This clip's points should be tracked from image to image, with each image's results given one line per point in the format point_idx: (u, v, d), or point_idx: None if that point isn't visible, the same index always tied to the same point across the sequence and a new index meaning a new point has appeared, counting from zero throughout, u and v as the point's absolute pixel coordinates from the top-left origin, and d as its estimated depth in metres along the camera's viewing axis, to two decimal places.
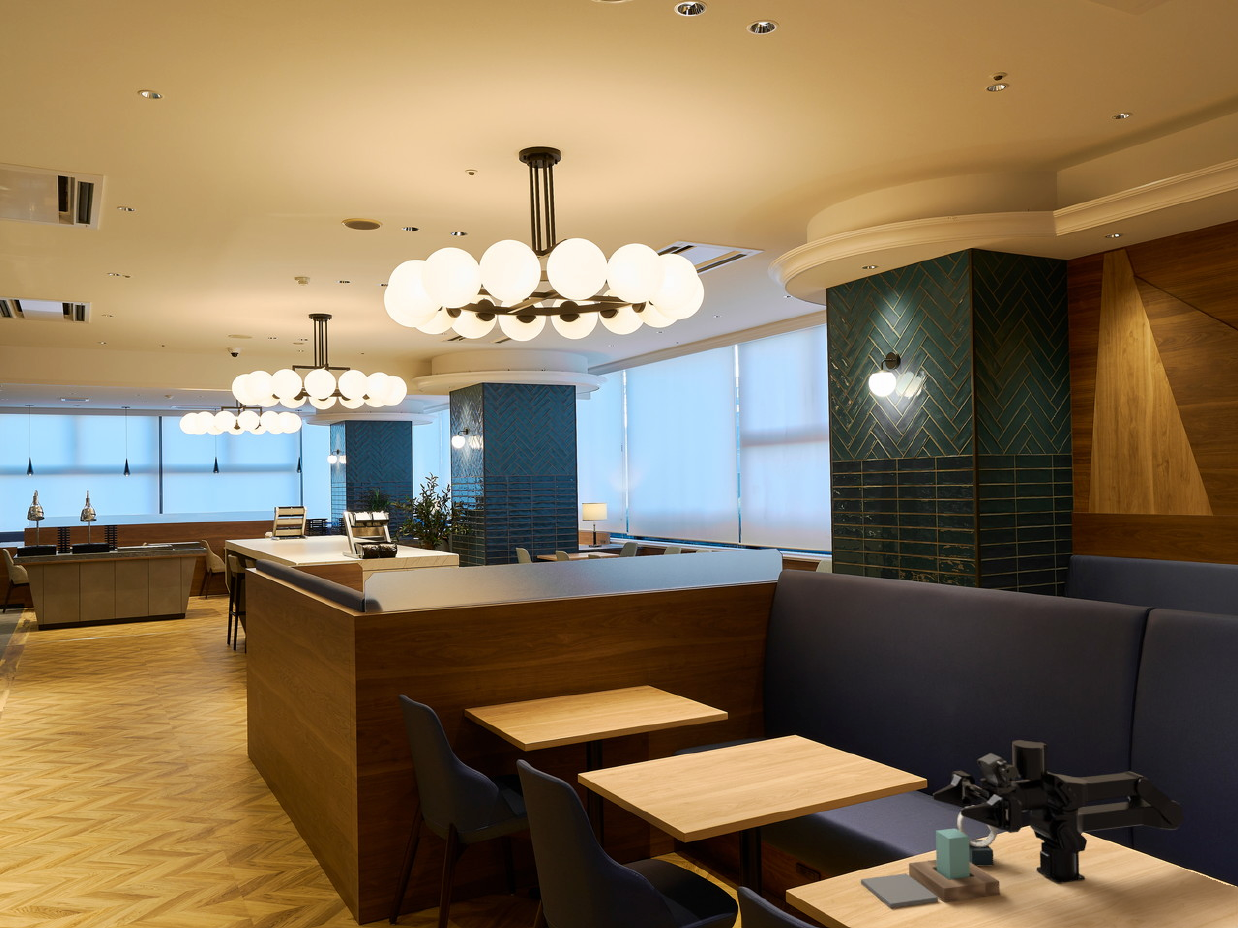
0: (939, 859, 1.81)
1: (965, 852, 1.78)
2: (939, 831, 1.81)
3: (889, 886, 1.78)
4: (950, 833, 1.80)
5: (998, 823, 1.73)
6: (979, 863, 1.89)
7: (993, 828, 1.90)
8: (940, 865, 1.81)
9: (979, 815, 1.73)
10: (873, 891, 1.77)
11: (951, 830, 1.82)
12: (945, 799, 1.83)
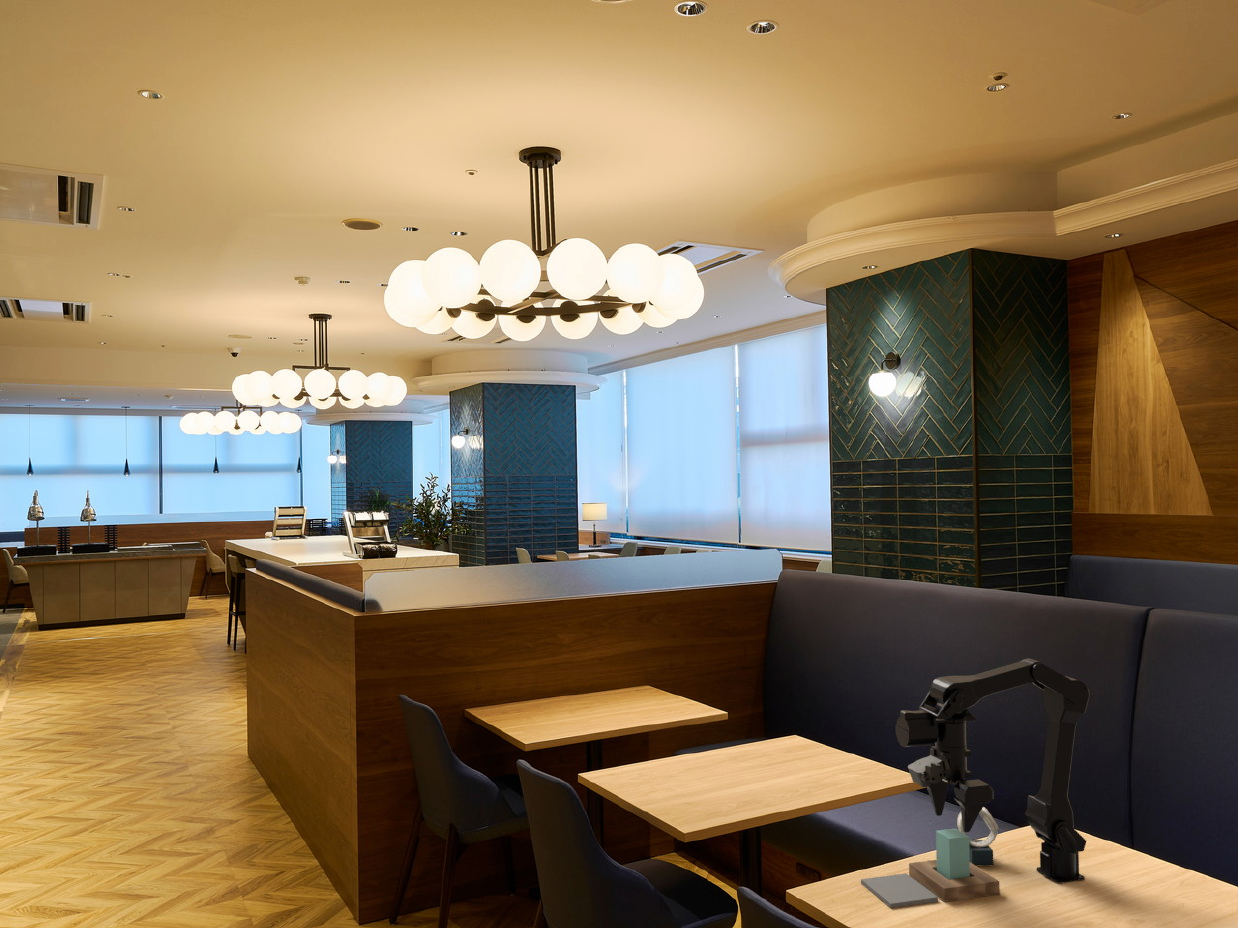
0: (939, 859, 1.81)
1: (965, 852, 1.78)
2: (939, 831, 1.82)
3: (889, 886, 1.78)
4: (950, 833, 1.80)
5: None
6: (979, 863, 1.89)
7: (993, 828, 1.90)
8: (940, 865, 1.81)
9: (972, 816, 1.75)
10: (873, 891, 1.77)
11: (951, 830, 1.82)
12: (941, 801, 1.85)
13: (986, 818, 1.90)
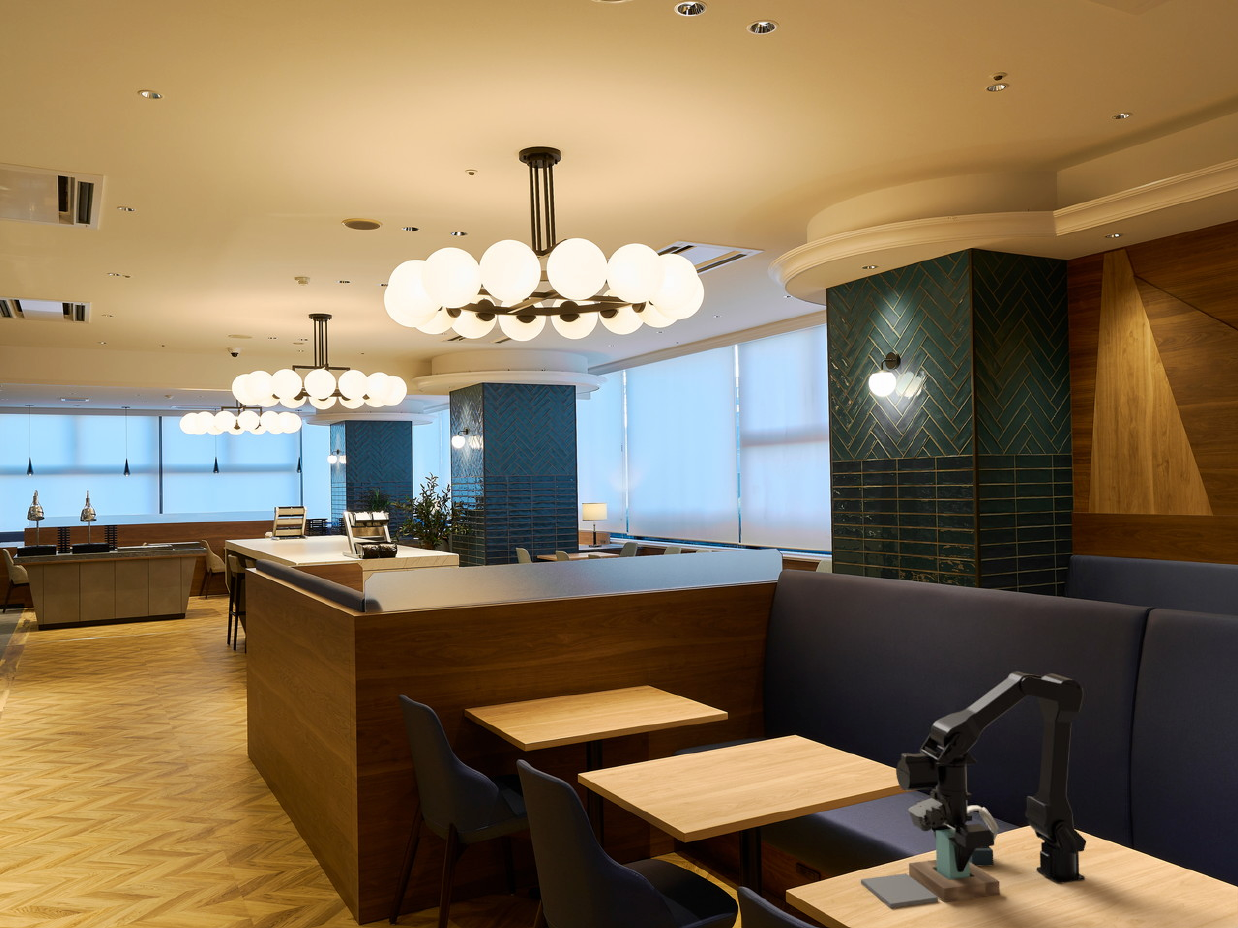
0: (939, 859, 1.81)
1: None
2: (939, 831, 1.82)
3: (889, 886, 1.78)
4: (950, 833, 1.80)
5: None
6: (979, 863, 1.89)
7: (993, 828, 1.90)
8: (940, 865, 1.81)
9: (965, 856, 1.77)
10: (873, 891, 1.77)
11: (951, 829, 1.82)
12: None
13: (986, 818, 1.90)
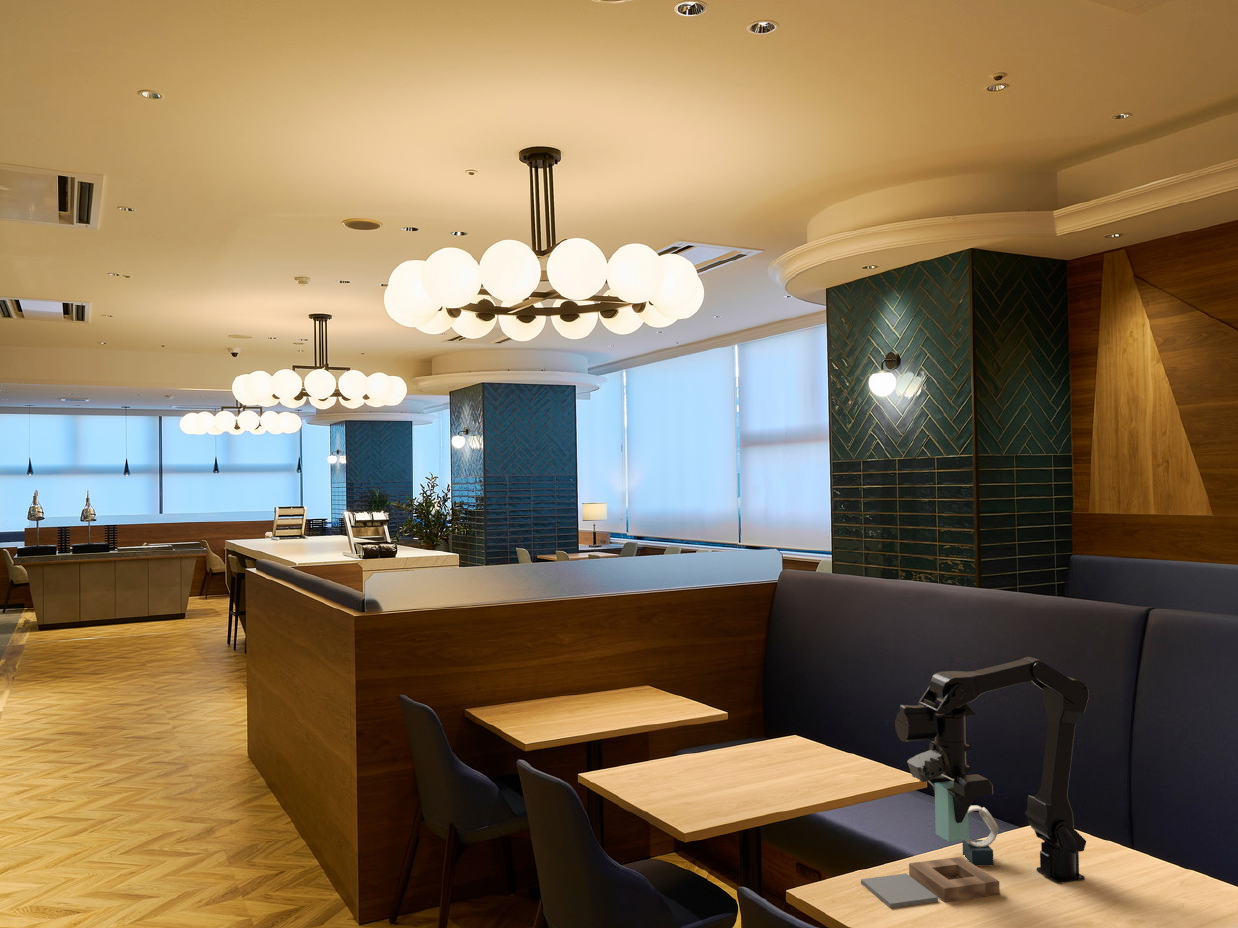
0: (938, 811, 1.81)
1: None
2: (938, 783, 1.82)
3: (889, 886, 1.78)
4: (949, 785, 1.80)
5: None
6: (979, 863, 1.89)
7: (993, 828, 1.90)
8: (938, 817, 1.81)
9: (964, 807, 1.77)
10: (873, 891, 1.77)
11: (950, 782, 1.82)
12: None
13: (986, 818, 1.90)
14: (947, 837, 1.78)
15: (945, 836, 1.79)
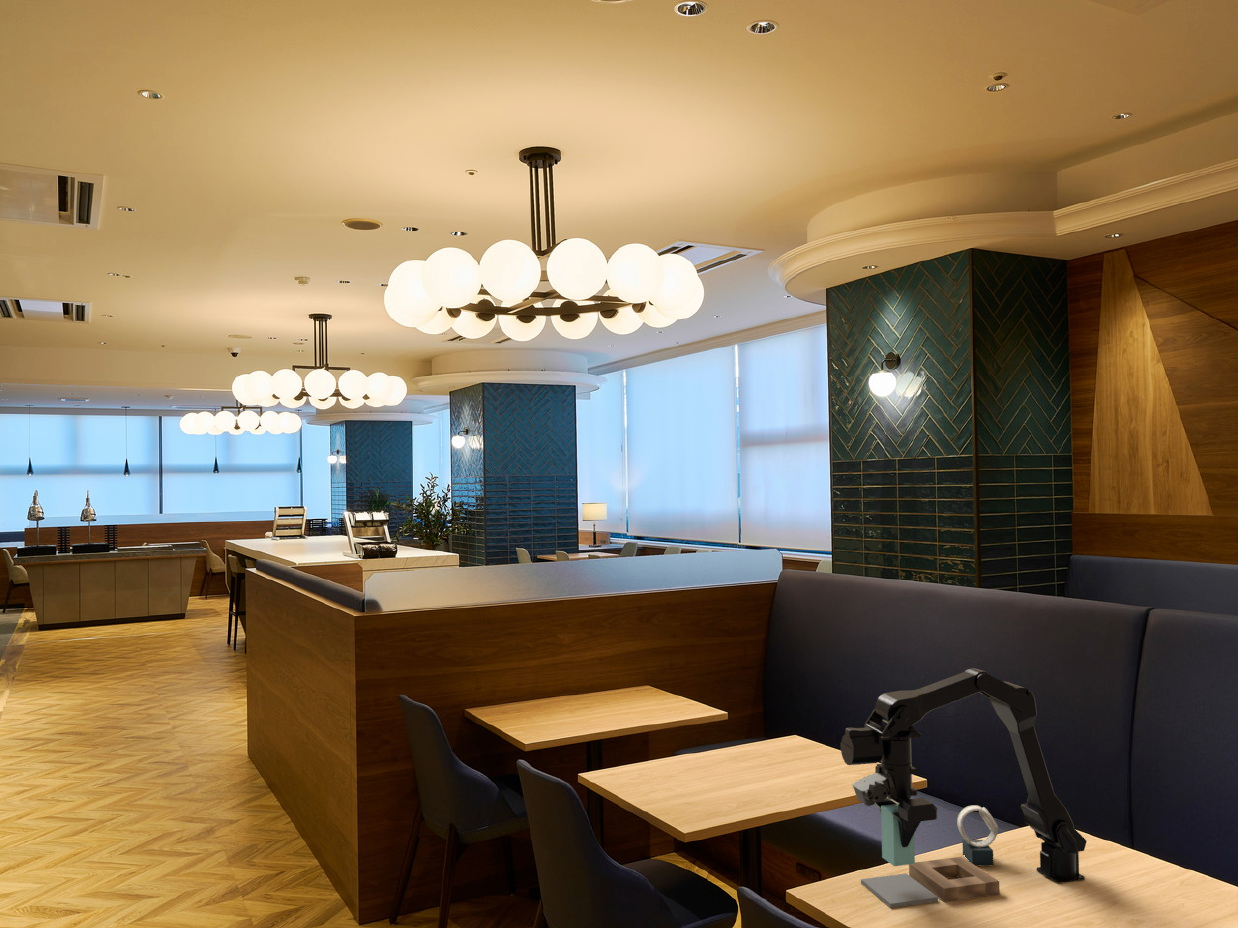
0: (884, 834, 1.78)
1: None
2: (884, 806, 1.79)
3: (889, 886, 1.78)
4: (895, 808, 1.77)
5: None
6: (979, 863, 1.89)
7: (993, 828, 1.90)
8: (884, 840, 1.78)
9: (909, 831, 1.74)
10: (873, 891, 1.77)
11: (897, 805, 1.79)
12: None
13: (986, 818, 1.90)
14: (893, 861, 1.75)
15: (891, 860, 1.76)
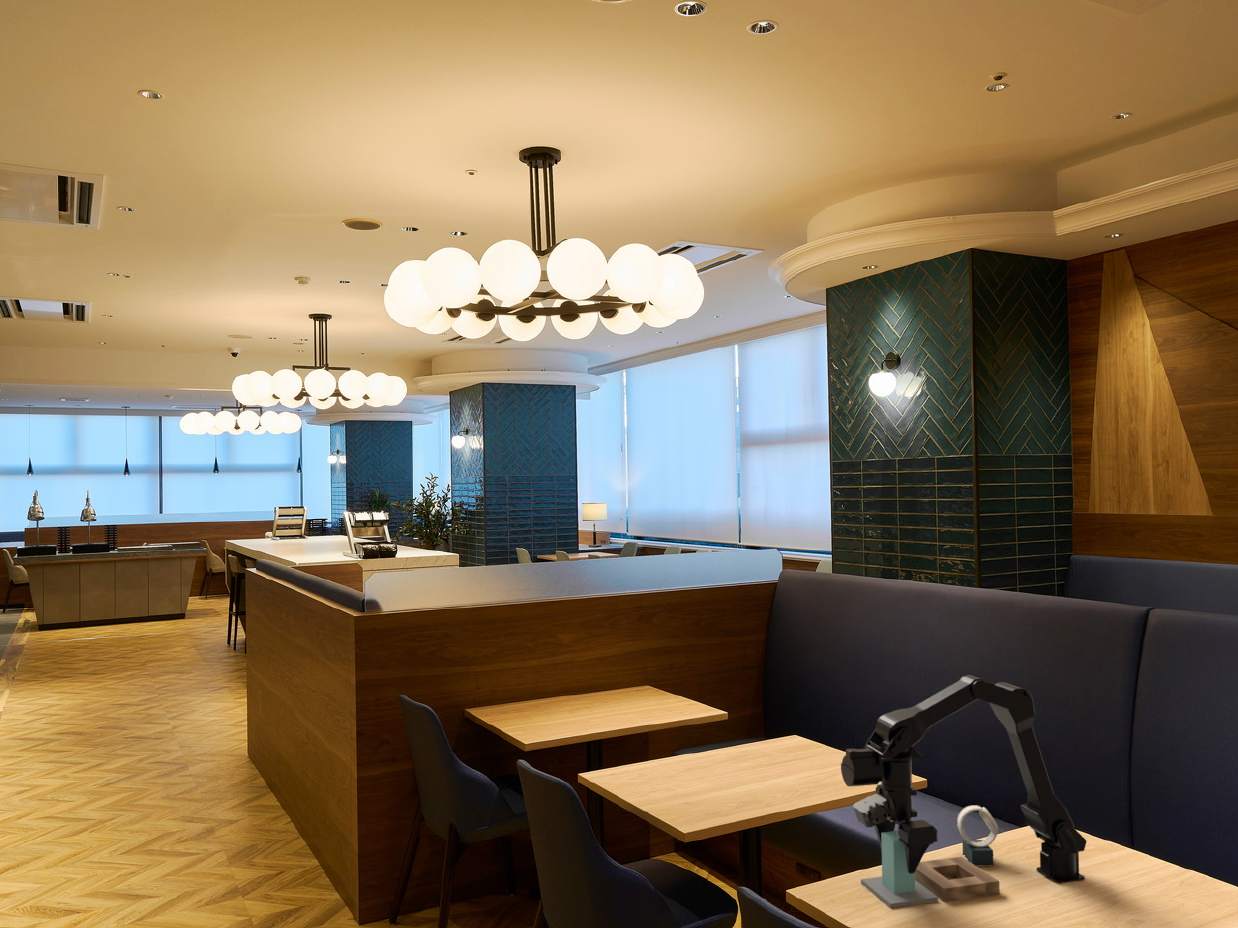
0: (884, 862, 1.78)
1: None
2: (884, 833, 1.79)
3: None
4: (895, 835, 1.77)
5: None
6: (979, 863, 1.89)
7: (993, 828, 1.90)
8: (885, 868, 1.78)
9: (916, 858, 1.72)
10: (873, 891, 1.77)
11: (897, 831, 1.79)
12: None
13: (986, 818, 1.90)
14: (893, 889, 1.75)
15: (891, 888, 1.76)
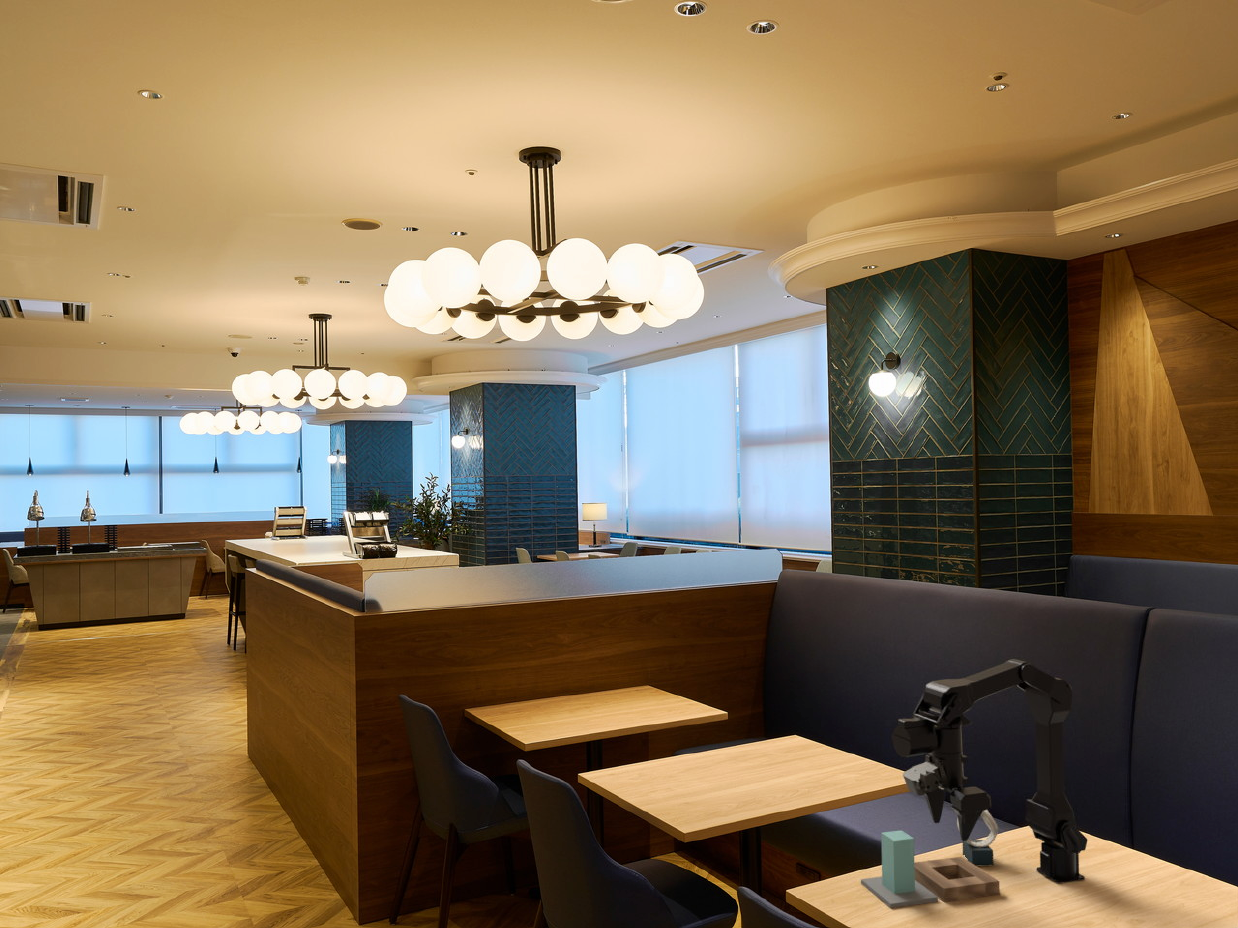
0: (884, 862, 1.78)
1: (910, 854, 1.76)
2: (884, 833, 1.79)
3: None
4: (895, 835, 1.77)
5: None
6: (979, 863, 1.89)
7: (993, 828, 1.90)
8: (885, 868, 1.78)
9: (969, 825, 1.70)
10: (873, 891, 1.77)
11: (897, 831, 1.79)
12: (939, 808, 1.80)
13: (986, 818, 1.90)
14: (893, 889, 1.75)
15: (891, 888, 1.76)
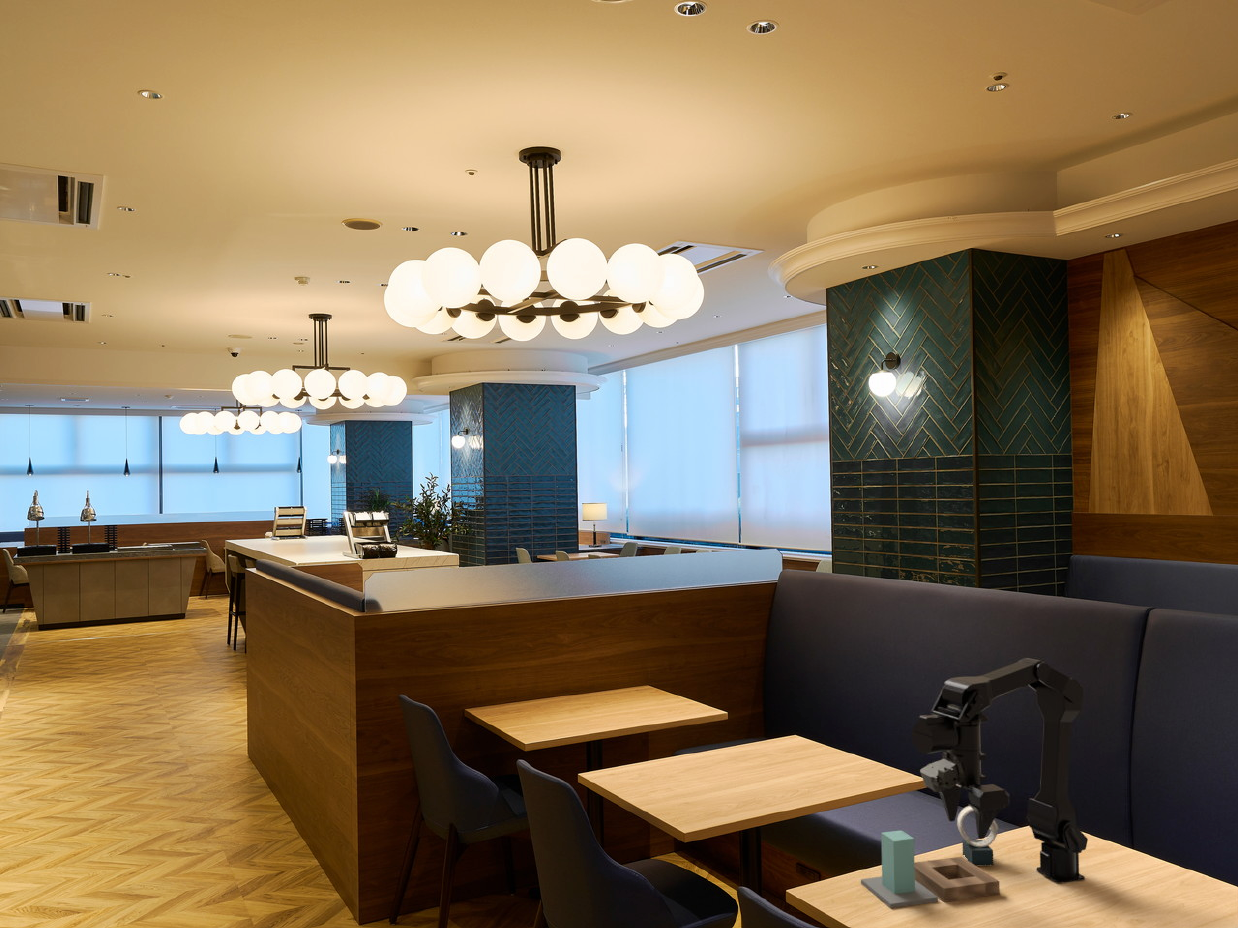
0: (884, 862, 1.78)
1: (910, 854, 1.76)
2: (884, 833, 1.79)
3: None
4: (895, 835, 1.77)
5: None
6: (979, 863, 1.89)
7: (993, 828, 1.90)
8: (885, 868, 1.78)
9: (987, 823, 1.69)
10: (873, 891, 1.77)
11: (897, 831, 1.79)
12: (954, 806, 1.79)
13: None
14: (893, 889, 1.75)
15: (891, 888, 1.76)
